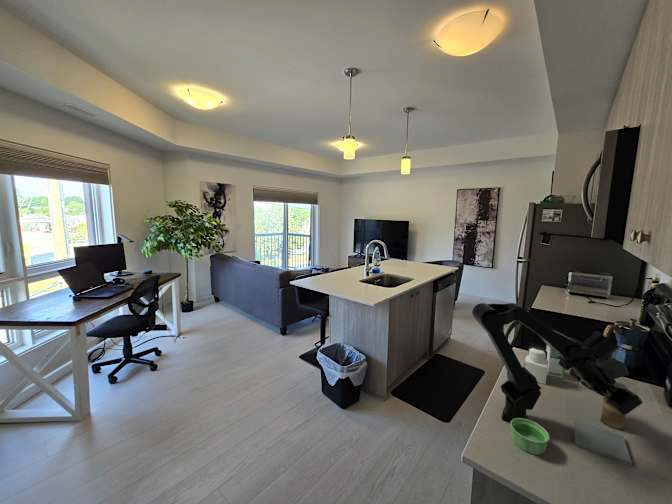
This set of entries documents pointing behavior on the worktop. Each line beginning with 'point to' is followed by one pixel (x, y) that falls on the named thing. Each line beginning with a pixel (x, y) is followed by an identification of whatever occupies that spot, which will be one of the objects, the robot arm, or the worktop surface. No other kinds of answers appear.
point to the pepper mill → (612, 412)
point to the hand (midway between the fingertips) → (619, 404)
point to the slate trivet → (601, 442)
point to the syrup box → (554, 364)
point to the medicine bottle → (537, 363)
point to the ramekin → (529, 436)
